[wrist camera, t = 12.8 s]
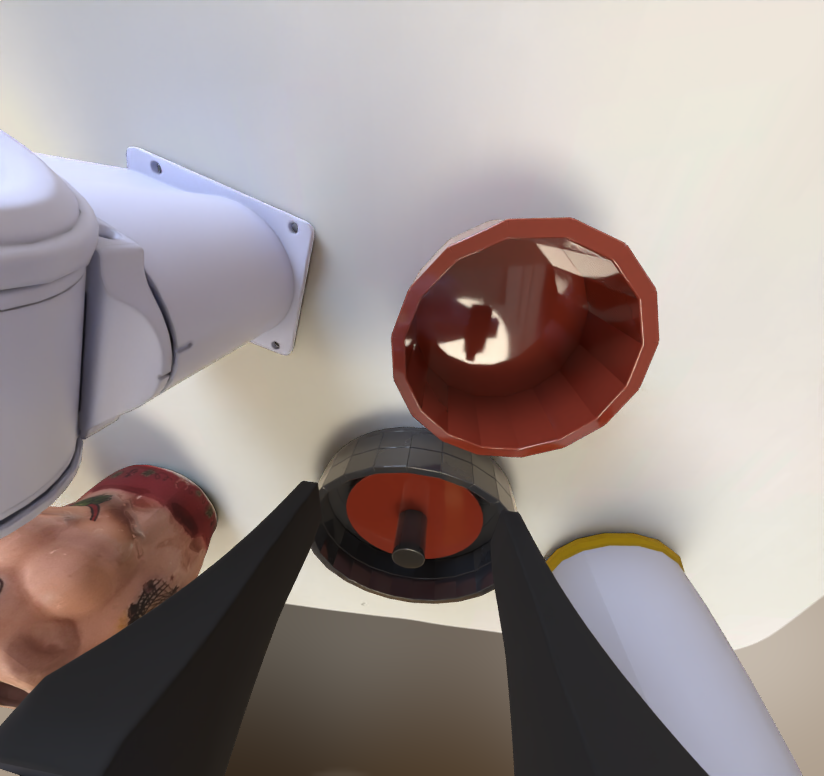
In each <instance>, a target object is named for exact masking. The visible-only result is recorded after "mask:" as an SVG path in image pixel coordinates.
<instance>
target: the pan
mask: <svg viewBox="0 0 824 776" xmlns="http://www.w3.org/2000/svg"><path fill="white" fill-rule="evenodd" d="M385 473H411V474H417V475H423V476H429V477H435V478H440V479H443V480H445V481H448V482H451V483H453V484H456V485H459V486H461V487H464V488H467V489H469V490H471V491H472V492H474V493H475V494H476V496H477V497H478V499H479V501H480V504H481V507H482V511H483V526H482V529H481V532H480V534H479V536H478V537H477V539H476V540H475V541H474V542H473V543H472V544H471V545H470V546H468V547H467V548H465V549H464V550H462V551H460V552H458V553H455V554H452V555H449V556H445V557H440V558H433V559H425V562H424V564H423V565H422V566H420V567H418V568H405V567H401V566H399V565H397V564H396V563H395V562H394V561H393V559H392V554H391V553H388V552H386V551H383V550H381V549H379V548H377V547H375V546H374V545H372V544H370V543H369V542H367V541H366V540H365V539H364V538H362V537H361V536H360V535H359V534H358V533H357V532H356V530H355V529H354V528H353V526H352V525H351V523H350V521H349V519H348V516H347V511H346V503H347V498H348V495H349V492H350V490H351V488H352V487H353V485H354V484H355V483H356V481H357V480H358V479H359V478H361V477H365V476H369V475H374V474H385ZM318 487H319V496H320V505H321V513H322V518H321V521H320V524H319V527H318V530H317V533H316V535H315V538H314V541H313V544H312V546H311V549H312V551H313V553H314V554H315V555H316V556H317V558H318V559H319V560H320V561H321V562H322V563H323V564H324V565H325V566H326V567H327V568H328V569H329V570H331V571H332V572H333V573H335V574H336V575H338V576H339V577H340V578H342V579H343V580H345V581H346V582H349V583H351V584H353V585H355V586H357V587H359V588H361V589H363V590H365V591H368V592H371V593H374V594H377V595H380V596H383V597H386V598H389V599H395V600H400V601H406V602H412V603H431V604H435V603H436V604H438V603H449V602H459V601H463V600H467V599H471V598H475V597H479V596H482V595H484V594H486V593H488V592H490V591H492V590H494V589H495V586H494V580H493V574H492V562H491V545H490V542H491V539H492V536H493V534H494V531H495V528H496V525H497V522H498V520H499V517H500V514H501V511H502V510H506V511H513V512H518V511H517V507H516V503H515V499H514V496H513V493H512V490H511V487H510V483H509V481H508V479H507V477H506V475H505V474H504V472H503V471H502V469H501V468H500V467H499V465H498V464H497V463H496V462H495V461H494V460H493V459H492V458H491V457H490V456H486V455H479V454H478V455H477V454H474V453H471V452H469V451H466V450H464V449H461V448H458V447H456V446H453V445H451V444H448V443H445V442H443V441H441V440H440V439H439V438H437V437H436V436H435V435H434V434H433V433H432V432H430V431H429V430H428V429H425V428H415V427H398V428H389V429H383V430H378V431H374V432H371V433H368V434H365V435H362V436H360V437H358V438H356V439H354V440H352V441H351V442H349V443H348V444H346V445H345V446H344V447H342V448H341V449H340V450H339V451H338V452H337V453H336V454H335V455H334V457H333V458H332V460H331V461H330V462H329V464H328V465H327V467H326V468H325V470H324V472H323V474H322V476H321V478H320V480H319V482H318Z"/></svg>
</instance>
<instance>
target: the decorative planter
mask: <svg viewBox="0 0 824 776" xmlns="http://www.w3.org/2000/svg"><path fill="white" fill-rule="evenodd" d="M216 525H217V517H216V512H215V509H214V507H213V505H212V504H211V502H210V501H209V499H208V498H207V496H206V495H205V493H204V492H203V491H202V490H201V489H200V488H199V486H197V485H196V484H195V483H194V482H192V481H191V480H189V479H188V478H186V477H184V476H183V475H181V474H178V473H176V472H174V471H172V470H168V469H164V468H160V467H156V466H151V465H133V466H128V467H126V468H123V469H121V470H119V471H117V472H115V473H113V474H111V475H110V476H108V477H106V478H105V479H103V480H102V481H101V482H99V483H98V484H97V485H95V486H94V487H93V488H92V489H90V490H89V491H88V492H87V493H85V494H84V495H83V496H82V497H81V498H79V499H78V500H77V501H76V502H74V503H71V504H68V505H66V506H63V507H52V506H49V507H48V508H46V509H45V510H44V511H43V512H41V513H40V514H39V515H38V516H36V517H35V518H34V519H32V520H31V521H29V522H28V523H26V524H25V525H23V526H22V527H20V528H18V529H17V530H15V531H14V532H12V533H11V534H9V535H7V536H5V537H3V538H1V539H0V706H1V707H6V708H11V709H16V708H17V706H18V705H19V704H20V703H21V702H22V701H23V700H24V698H25V697H26V696H27V695H28V694H29V693H30V692H31V691H32V690H33V689H34V688H35V687H36V686H37V685H38V684H39V682H40V681H41V680H42V679H43V678H44V677H46V676H47V675H49V674H50V673H52V672H54V671H56V670H57V669H59V668H61V667H62V666H64V665H66V664H67V663H69V662H71V661H72V660H74V659H76V658H77V657H79V656H80V655H82V654H84V653H85V652H87V651H89V650H90V649H92V648H94V647H95V646H97V645H99V644H100V643H102V642H104V641H105V640H107V639H108V638H110V637H112V636H113V635H115V634H116V633H118V632H119V631H121V630H122V629H124V628H125V627H127V626H128V625H130V624H131V623H133V622H134V621H136V620H137V619H139V618H140V617H142V616H143V615H145V614H146V613H148V612H149V611H151V610H152V609H154V608H155V607H157V606H158V605H160V604H161V603H163V602H164V601H165V600H167V599H168V598H170V597H171V596H173V595H174V594H175V593H177V592H178V591H179V590H181V589H182V588H183V587H185V586H186V585H187V584H189V583H190V582H191V581H193V580H194V579H195V578H197V576H198V574H199V571H200V569H201V567H202V564H203V561H204V558H205V555H206V553H207V550H208V547H209V543H210V540H211V537H212V534H213V532H214V531H215V529H216Z"/></svg>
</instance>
